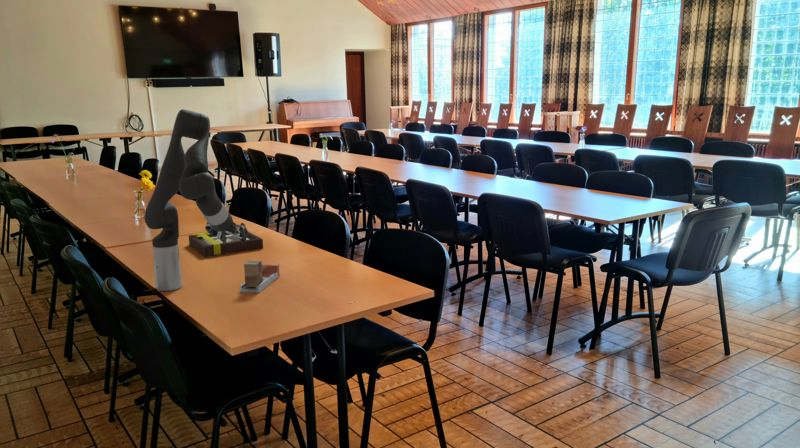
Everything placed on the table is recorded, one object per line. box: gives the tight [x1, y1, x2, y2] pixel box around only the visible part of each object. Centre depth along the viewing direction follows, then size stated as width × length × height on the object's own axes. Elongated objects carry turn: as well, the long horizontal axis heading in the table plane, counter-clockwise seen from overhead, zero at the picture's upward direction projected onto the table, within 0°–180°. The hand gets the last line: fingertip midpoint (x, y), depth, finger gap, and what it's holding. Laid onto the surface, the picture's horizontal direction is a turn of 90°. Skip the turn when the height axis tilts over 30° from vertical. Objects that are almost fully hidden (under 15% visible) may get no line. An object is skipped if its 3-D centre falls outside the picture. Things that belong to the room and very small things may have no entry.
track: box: [239, 263, 281, 294], centre depth 239 cm, size 22×8×5 cm, turn 170°
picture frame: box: [188, 230, 264, 258], centre depth 299 cm, size 28×7×30 cm
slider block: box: [243, 259, 263, 287], centre depth 233 cm, size 5×5×9 cm
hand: (234, 241), depth 215 cm, fingers open, 6 cm apart
